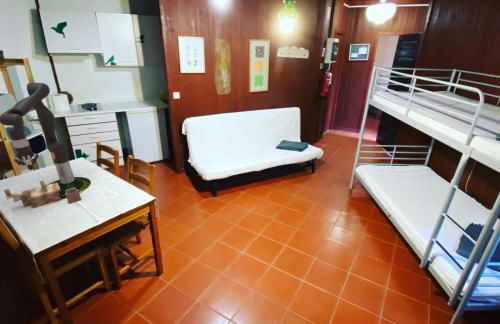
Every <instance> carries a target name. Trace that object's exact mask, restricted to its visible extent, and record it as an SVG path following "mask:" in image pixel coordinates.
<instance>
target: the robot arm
mask: <svg viewBox="0 0 500 324" xmlns="http://www.w3.org/2000/svg"><path fill="white" fill-rule="evenodd" d="M26 91H27V94H28V96H26V97H24V98H23V99H20V100H19V101H18V102H17V103H16V104H15V105H14V106H12V108H10V109H8V110H6V111H4V112H3V113H2V114H0V124H1V125H2V126H6V127H7V126H9V127H11V126H12V127H13V128H12V129H9V130H8V134H9V135H8V136H9V137H10V139H11V143H12V146H13V148H14V151H15V153H16V157H15V158H13V162H15V163H17V164H19V165H22V166H26V167H27V170H29V171H33V170H34V165H33V164H35V163H36V162H37V160H38V158H39V154H38V153H34V152H33V151H32V148H31V145H30V142H29V140H28V139H27V136H26V134H25V132H24V131H25V130H24V127H25V126H24V120H23V118H24V117H25V116H26V115H27V114H28V113H29V112H30V111H31V109H32V108H34V109H35V112H36V114H37V118H38V122H39V125H40V127H41V130H42V133H43V136H44V140H45V145H46V148H47V150H48V151H49V152H51V153H52V154H54V158H53V163H54V166H55V170H56V172H57V176H58V179H59V182H60V183H61V184H64V185H66V184H71V183H73V182H75V181H76V179H75V175H74V173H73V170H72V167H71V164H70V160H69V156H70V155H69V151H68V148H67V145H66V144H65V143H64V142H61V141H58V137H57V135H56V129H57V121H56V117H55V115H54V113H53V112H52V111H51V110H50V109H49V108H48V107H47V106H46V105H45V103H44V102H43V100H44V99H45V98H47V97H48V96H49V94H50V92H51V89H50V87H49V85H48V84H47V83H43V82H28V83H27V84H26ZM33 157H34V158H33ZM32 158H33V159H32ZM21 160H22V161H21ZM74 180H75V181H74Z"/></svg>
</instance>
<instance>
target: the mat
mask: <svg viewBox="0 0 500 324" xmlns="http://www.w3.org/2000/svg"><path fill="white" fill-rule="evenodd" d="M29 190H30V189H28V190H23V191H21V192H22V193H23V194H25V193H28V192H29ZM12 199H13V202H18V201H21V198H20V196H19V197H15V198H12Z"/></svg>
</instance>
